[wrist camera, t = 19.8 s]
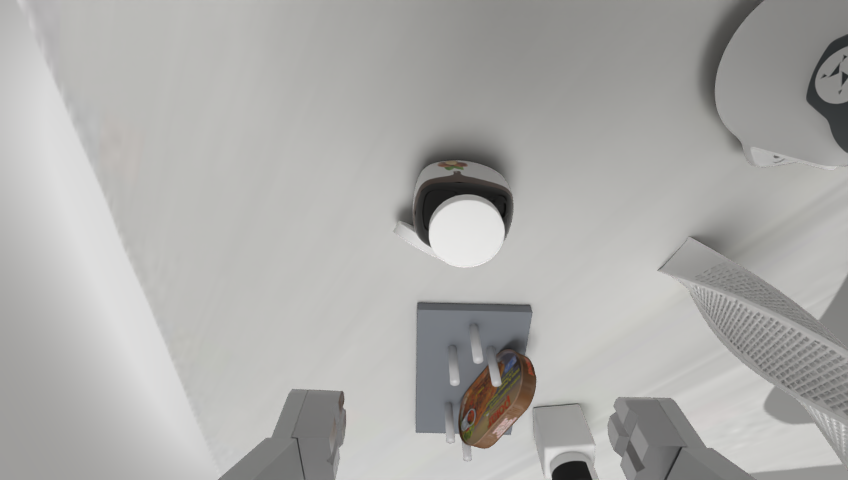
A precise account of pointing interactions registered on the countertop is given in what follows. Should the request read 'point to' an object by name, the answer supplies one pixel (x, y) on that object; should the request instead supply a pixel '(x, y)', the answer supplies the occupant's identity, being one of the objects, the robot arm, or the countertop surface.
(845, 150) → the robot arm
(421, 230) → the spread jar
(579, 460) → the medicine bottle
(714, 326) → the skyscraper
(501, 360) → the tin
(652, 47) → the countertop surface
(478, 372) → the pin tray
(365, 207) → the countertop surface
